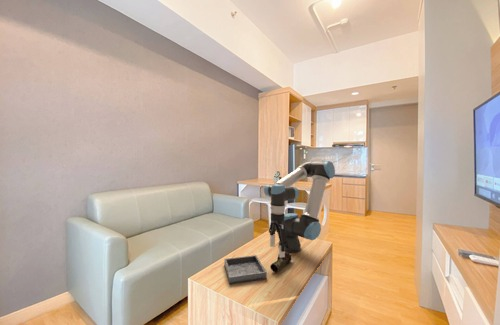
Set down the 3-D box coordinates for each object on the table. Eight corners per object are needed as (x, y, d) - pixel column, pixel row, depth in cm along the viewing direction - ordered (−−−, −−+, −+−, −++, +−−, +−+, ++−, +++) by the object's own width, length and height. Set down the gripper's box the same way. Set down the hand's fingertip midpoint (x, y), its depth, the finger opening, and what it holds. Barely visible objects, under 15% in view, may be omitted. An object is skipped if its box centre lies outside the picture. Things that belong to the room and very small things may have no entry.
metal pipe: (277, 274, 105) (278, 263, 105) (267, 269, 109) (267, 259, 109) (293, 262, 118) (293, 252, 118) (283, 258, 123) (283, 249, 123)
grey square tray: (256, 261, 120) (256, 255, 120) (266, 279, 101) (266, 272, 101) (224, 265, 115) (224, 258, 115) (229, 284, 96) (229, 277, 96)
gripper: (263, 208, 121) (263, 243, 120) (280, 219, 97) (279, 263, 96) (275, 207, 123) (274, 242, 122) (294, 218, 98) (293, 261, 98)
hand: (276, 251), depth 109 cm, fingers open, 13 cm apart
